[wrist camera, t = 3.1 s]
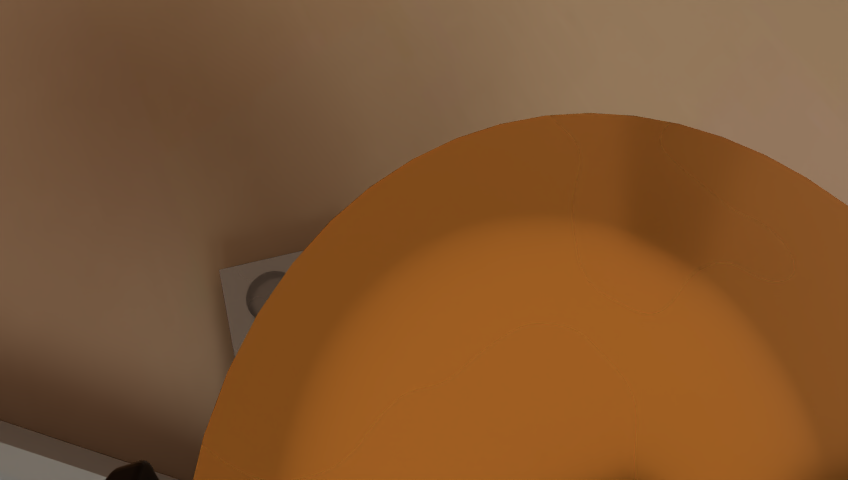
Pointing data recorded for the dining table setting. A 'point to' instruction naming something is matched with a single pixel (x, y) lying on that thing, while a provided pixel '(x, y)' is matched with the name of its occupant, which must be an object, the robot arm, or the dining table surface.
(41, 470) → the tray
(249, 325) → the plate
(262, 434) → the orange capped tube
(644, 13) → the dining table surface
